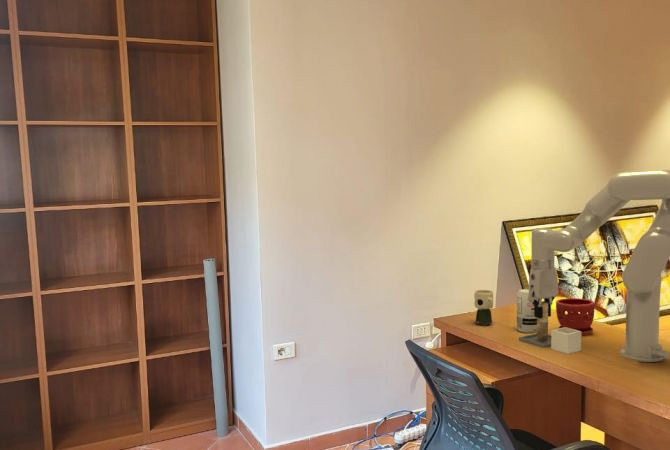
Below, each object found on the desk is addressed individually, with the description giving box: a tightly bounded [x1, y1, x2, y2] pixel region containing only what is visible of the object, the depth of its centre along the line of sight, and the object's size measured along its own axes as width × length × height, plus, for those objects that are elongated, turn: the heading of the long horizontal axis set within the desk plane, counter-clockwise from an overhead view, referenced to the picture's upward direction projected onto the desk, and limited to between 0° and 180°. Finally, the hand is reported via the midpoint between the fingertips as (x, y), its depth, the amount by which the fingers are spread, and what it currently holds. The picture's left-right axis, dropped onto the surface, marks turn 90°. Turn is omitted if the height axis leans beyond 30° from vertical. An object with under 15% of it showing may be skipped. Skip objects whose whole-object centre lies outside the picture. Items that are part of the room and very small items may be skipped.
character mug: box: [473, 289, 494, 326], centre depth 245 cm, size 11×7×13 cm, turn 22°
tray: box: [518, 332, 551, 349], centre depth 219 cm, size 11×11×2 cm
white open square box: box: [550, 327, 582, 355], centre depth 208 cm, size 7×7×7 cm
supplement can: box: [516, 288, 538, 334], centre depth 234 cm, size 8×8×15 cm
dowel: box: [536, 300, 549, 341], centre depth 218 cm, size 4×4×13 cm
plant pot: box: [555, 297, 595, 337], centre depth 229 cm, size 13×13×12 cm
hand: (542, 316), depth 218 cm, fingers closed on dowel, 3 cm apart
